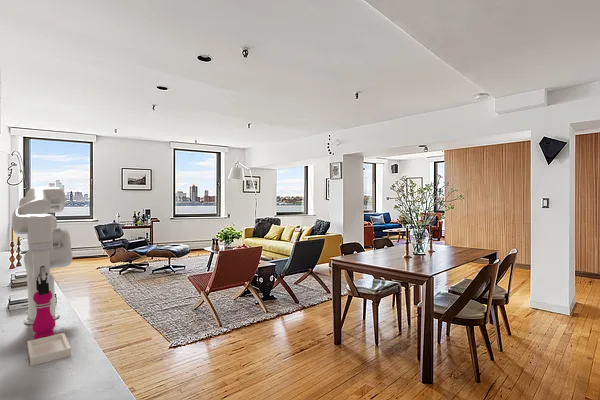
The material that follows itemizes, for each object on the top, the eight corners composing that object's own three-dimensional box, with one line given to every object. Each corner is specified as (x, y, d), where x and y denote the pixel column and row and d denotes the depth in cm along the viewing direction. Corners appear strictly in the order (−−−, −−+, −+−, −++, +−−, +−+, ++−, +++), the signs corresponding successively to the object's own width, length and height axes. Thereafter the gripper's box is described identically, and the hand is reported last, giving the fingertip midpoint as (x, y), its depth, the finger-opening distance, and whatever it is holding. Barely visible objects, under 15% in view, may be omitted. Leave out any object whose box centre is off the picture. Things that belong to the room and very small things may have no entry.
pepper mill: (43, 342, 131) (41, 288, 131) (27, 340, 132) (25, 288, 132) (60, 334, 138) (58, 283, 138) (45, 333, 140) (43, 283, 139)
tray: (27, 348, 126) (27, 341, 126) (64, 339, 133) (64, 332, 133) (30, 366, 112) (30, 358, 112) (71, 355, 119) (71, 348, 119)
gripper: (27, 246, 139) (29, 289, 139) (29, 250, 125) (31, 298, 125) (50, 244, 143) (52, 286, 143) (55, 247, 130) (57, 294, 130)
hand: (42, 291), depth 134 cm, fingers open, 9 cm apart
